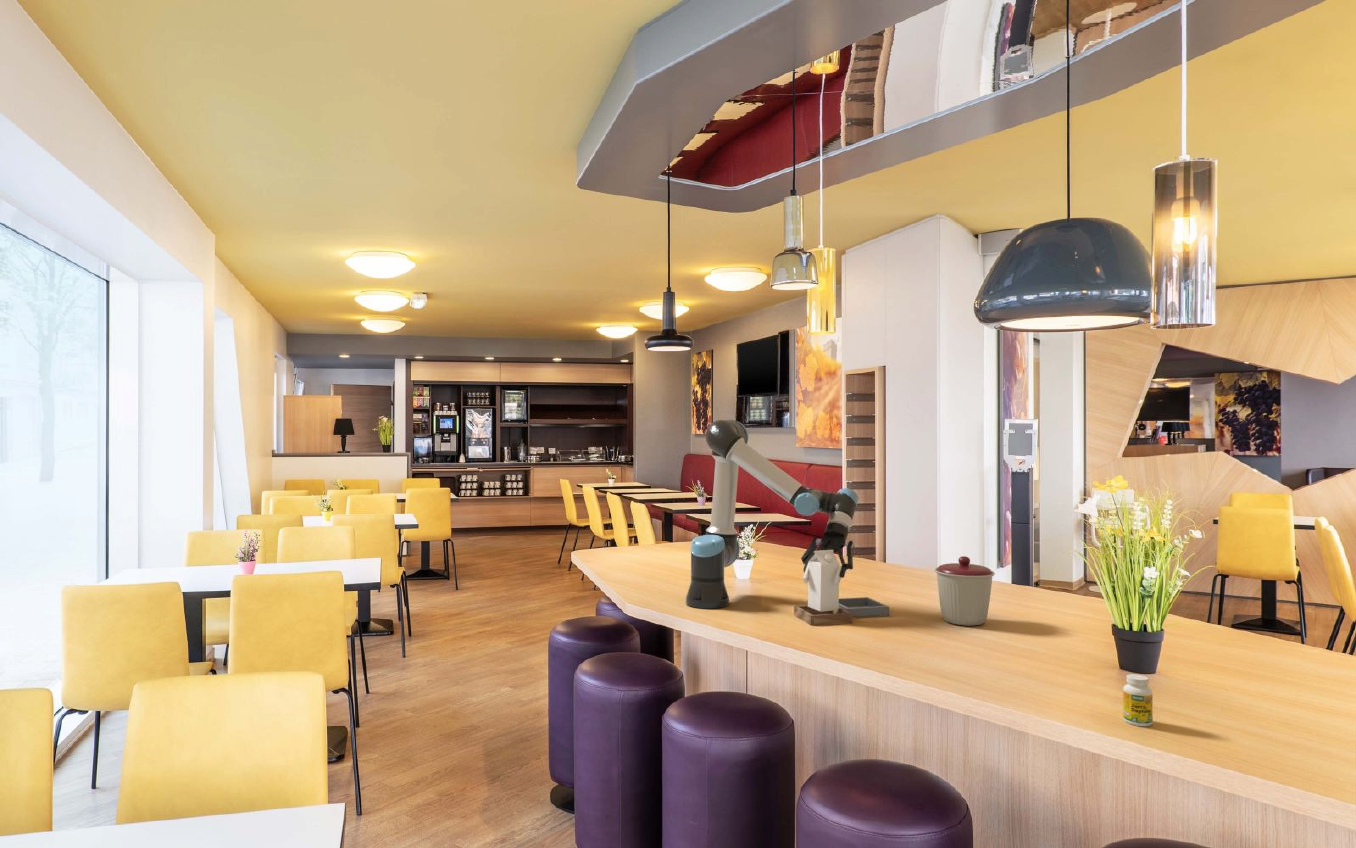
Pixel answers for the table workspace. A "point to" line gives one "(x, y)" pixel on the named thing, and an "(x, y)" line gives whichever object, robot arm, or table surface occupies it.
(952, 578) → the canister
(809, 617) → the holder frame
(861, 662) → the table surface
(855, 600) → the tray
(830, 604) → the milk carton
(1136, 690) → the supplement bottle
